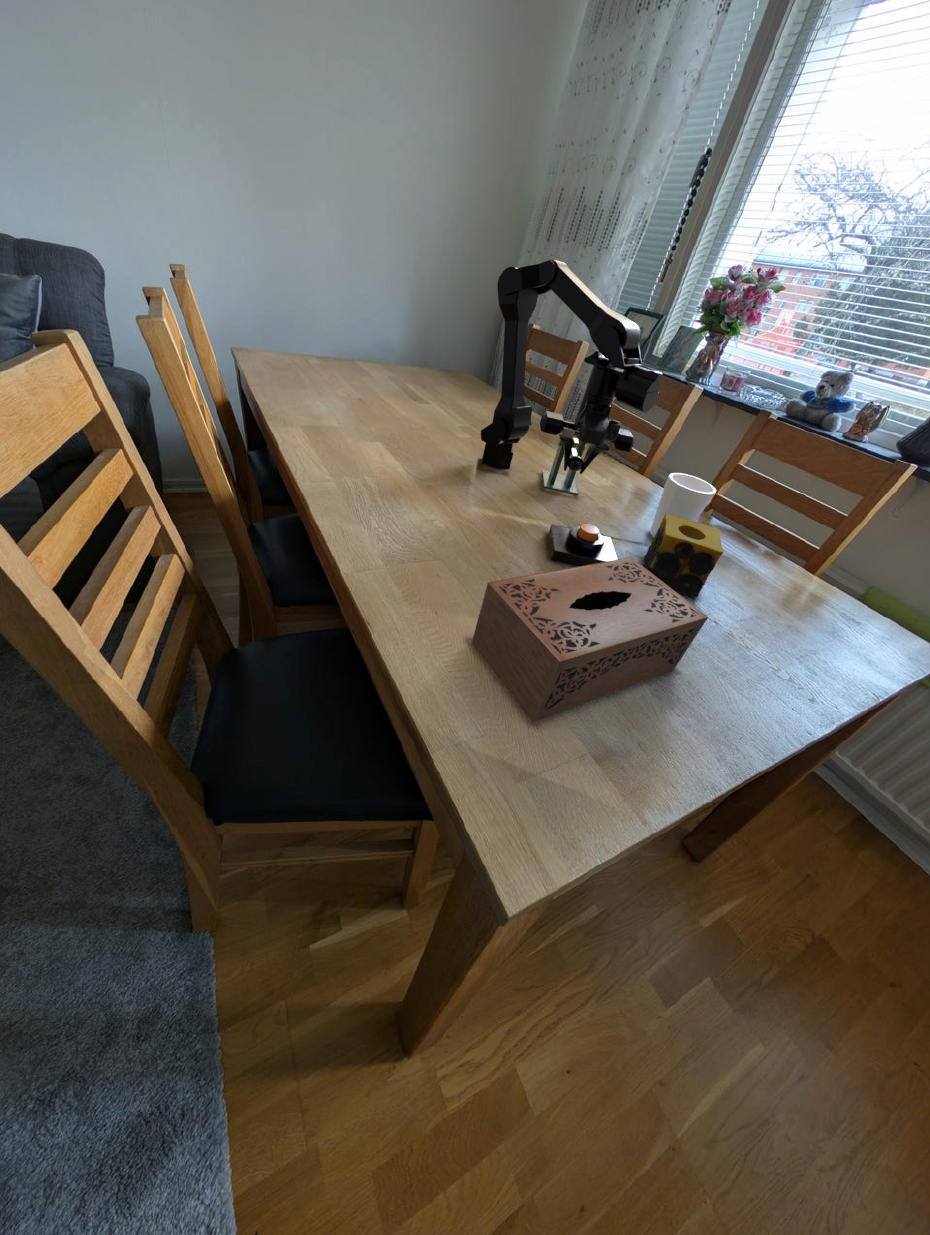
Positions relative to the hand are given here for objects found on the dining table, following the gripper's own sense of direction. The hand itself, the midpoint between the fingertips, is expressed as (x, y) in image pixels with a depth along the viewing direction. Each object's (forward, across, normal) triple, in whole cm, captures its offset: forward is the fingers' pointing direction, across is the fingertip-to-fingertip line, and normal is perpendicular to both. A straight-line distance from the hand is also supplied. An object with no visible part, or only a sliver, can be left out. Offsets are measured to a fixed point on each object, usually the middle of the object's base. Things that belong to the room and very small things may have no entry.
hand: (572, 471), depth 103 cm
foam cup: (+8, +22, -7) cm, 24 cm away
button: (+4, +2, -21) cm, 21 cm away
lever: (-1, 0, +5) cm, 5 cm away
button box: (+8, +2, -21) cm, 22 cm away
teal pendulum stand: (+8, 0, +10) cm, 13 cm away
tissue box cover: (+8, -2, -51) cm, 52 cm away
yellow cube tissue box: (+8, +19, -23) cm, 31 cm away
